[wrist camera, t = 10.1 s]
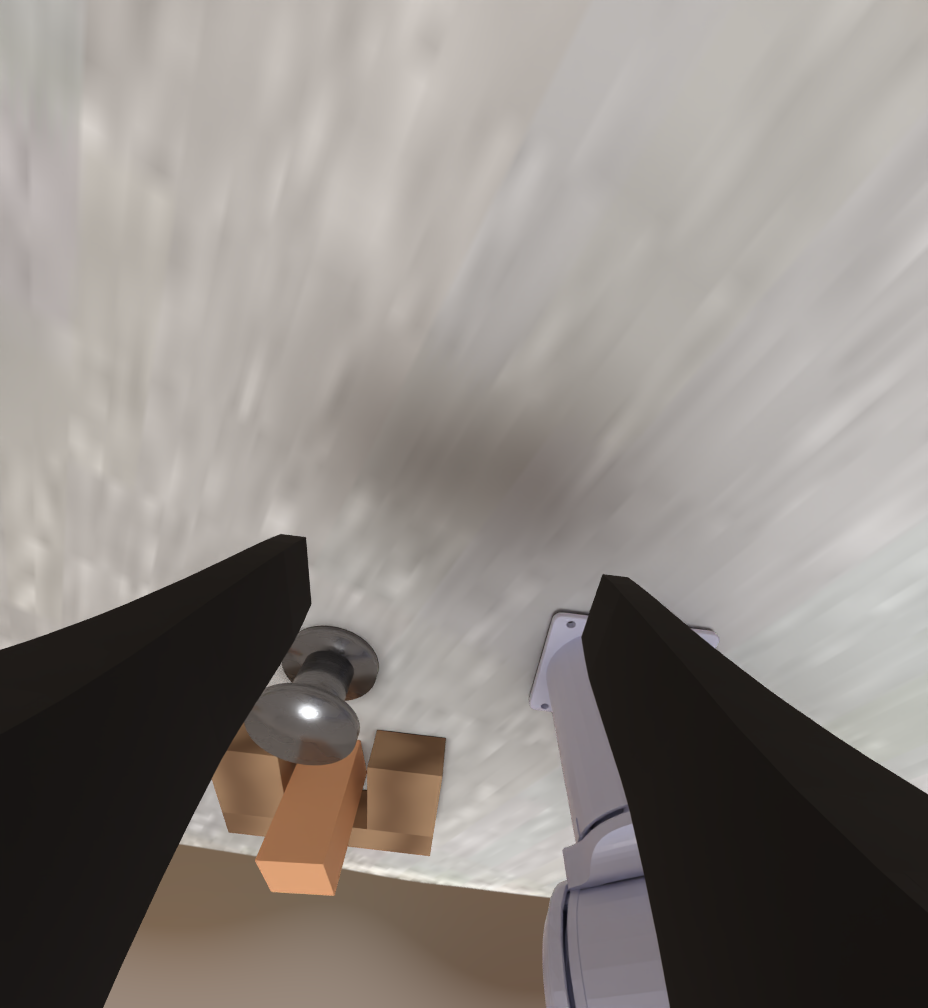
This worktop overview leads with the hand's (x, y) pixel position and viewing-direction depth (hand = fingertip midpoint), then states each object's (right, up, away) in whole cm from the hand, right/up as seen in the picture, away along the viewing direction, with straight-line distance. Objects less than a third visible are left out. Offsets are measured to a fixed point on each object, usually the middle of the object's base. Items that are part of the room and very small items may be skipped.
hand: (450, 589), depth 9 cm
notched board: (-10, -19, +20) cm, 29 cm away
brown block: (-9, -17, +19) cm, 27 cm away
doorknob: (-8, -8, +15) cm, 19 cm away
